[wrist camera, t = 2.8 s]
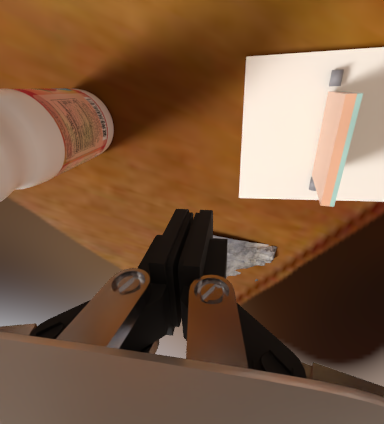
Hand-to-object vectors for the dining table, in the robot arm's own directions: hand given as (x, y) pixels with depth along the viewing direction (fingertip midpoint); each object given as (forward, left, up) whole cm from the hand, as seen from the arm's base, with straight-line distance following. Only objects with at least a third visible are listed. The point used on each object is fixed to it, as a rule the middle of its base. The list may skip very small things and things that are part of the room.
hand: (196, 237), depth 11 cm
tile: (0, +11, -19) cm, 22 cm away
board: (0, +13, -25) cm, 28 cm away
